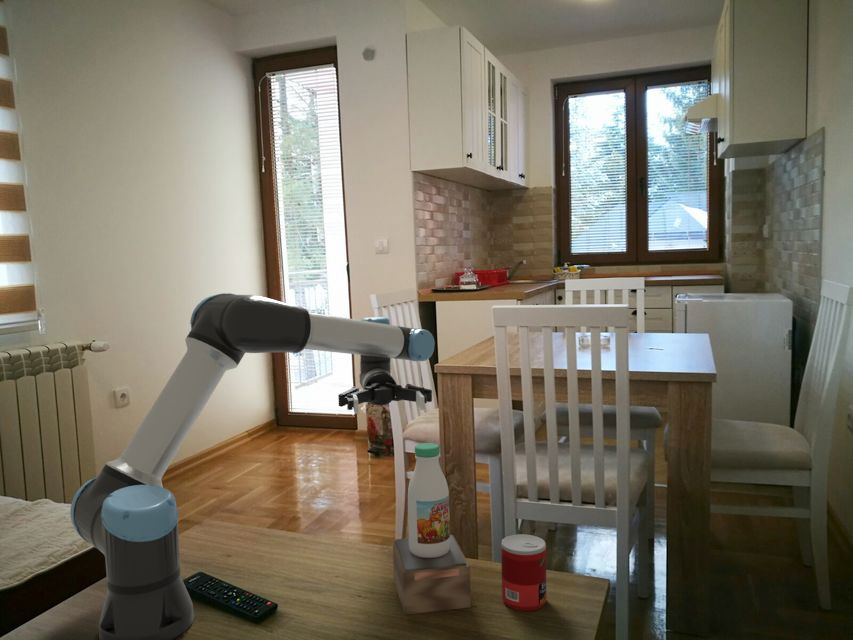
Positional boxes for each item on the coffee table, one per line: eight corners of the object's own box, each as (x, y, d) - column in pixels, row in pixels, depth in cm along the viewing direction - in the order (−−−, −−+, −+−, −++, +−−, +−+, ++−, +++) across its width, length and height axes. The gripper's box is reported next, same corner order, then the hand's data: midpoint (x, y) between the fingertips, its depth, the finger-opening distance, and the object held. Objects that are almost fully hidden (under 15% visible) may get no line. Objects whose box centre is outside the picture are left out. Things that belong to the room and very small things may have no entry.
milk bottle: (402, 556, 123) (399, 449, 121) (417, 539, 130) (415, 438, 128) (442, 561, 120) (440, 452, 118) (455, 544, 127) (453, 441, 126)
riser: (404, 615, 117) (403, 571, 117) (393, 578, 131) (392, 538, 131) (470, 607, 120) (470, 564, 119) (453, 571, 134) (452, 532, 133)
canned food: (549, 611, 118) (549, 551, 117) (504, 612, 118) (503, 551, 117) (543, 590, 125) (542, 533, 124) (500, 590, 125) (499, 534, 124)
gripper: (432, 399, 160) (449, 419, 139) (326, 405, 156) (328, 426, 135) (431, 368, 160) (449, 384, 139) (325, 373, 155) (327, 390, 135)
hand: (389, 405), depth 137 cm, fingers open, 13 cm apart
